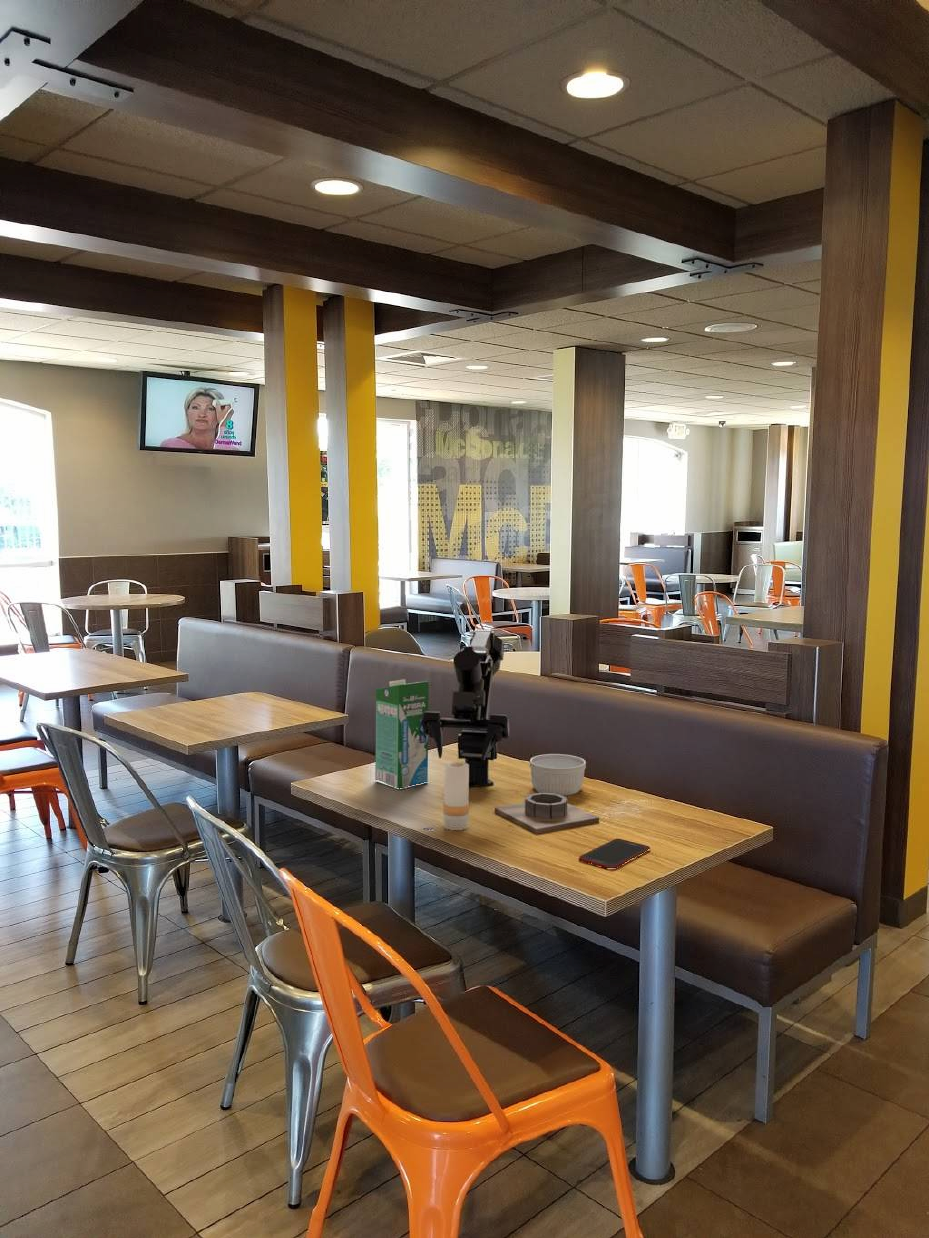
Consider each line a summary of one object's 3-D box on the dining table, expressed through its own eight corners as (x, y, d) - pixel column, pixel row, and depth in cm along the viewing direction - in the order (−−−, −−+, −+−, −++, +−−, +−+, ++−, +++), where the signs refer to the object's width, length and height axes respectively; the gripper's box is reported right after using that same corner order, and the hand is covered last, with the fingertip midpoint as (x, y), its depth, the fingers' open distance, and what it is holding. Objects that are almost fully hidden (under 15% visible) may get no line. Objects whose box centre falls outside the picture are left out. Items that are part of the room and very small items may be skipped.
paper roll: (439, 824, 195) (440, 762, 193) (462, 821, 197) (463, 760, 195) (448, 831, 190) (449, 768, 189) (472, 829, 192) (473, 766, 191)
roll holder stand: (494, 811, 203) (494, 793, 203) (554, 801, 211) (555, 784, 211) (536, 833, 190) (536, 814, 189) (598, 822, 198) (599, 803, 197)
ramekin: (554, 801, 212) (555, 771, 212) (517, 787, 223) (518, 758, 222) (596, 791, 220) (597, 762, 220) (559, 778, 231) (559, 751, 230)
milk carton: (404, 775, 231) (405, 675, 229) (428, 783, 225) (429, 680, 222) (374, 782, 225) (375, 679, 223) (398, 790, 219) (399, 684, 216)
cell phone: (576, 862, 175) (576, 857, 175) (616, 842, 186) (617, 837, 186) (612, 872, 170) (612, 867, 170) (651, 851, 182) (652, 846, 181)
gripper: (423, 674, 203) (412, 735, 193) (509, 677, 201) (503, 740, 191) (429, 703, 212) (419, 763, 202) (511, 707, 209) (506, 768, 199)
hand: (461, 758), depth 198 cm, fingers open, 9 cm apart
